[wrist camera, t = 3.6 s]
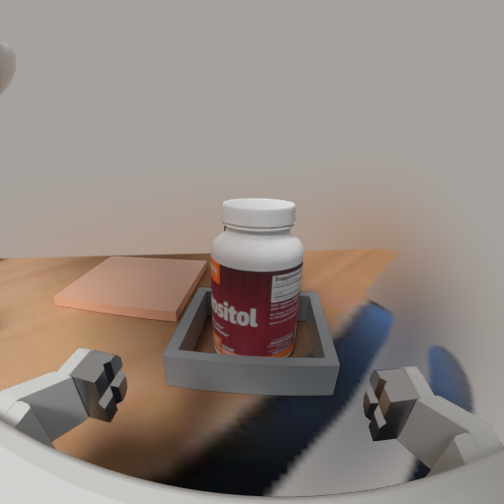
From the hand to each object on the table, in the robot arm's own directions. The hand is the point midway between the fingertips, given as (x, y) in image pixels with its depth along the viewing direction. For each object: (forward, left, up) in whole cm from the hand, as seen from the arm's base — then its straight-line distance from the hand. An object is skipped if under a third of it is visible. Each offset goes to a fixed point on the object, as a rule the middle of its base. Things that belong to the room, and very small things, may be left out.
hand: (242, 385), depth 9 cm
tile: (-14, +22, -7) cm, 27 cm away
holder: (0, +12, -7) cm, 14 cm away
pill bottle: (0, +12, -7) cm, 14 cm away
